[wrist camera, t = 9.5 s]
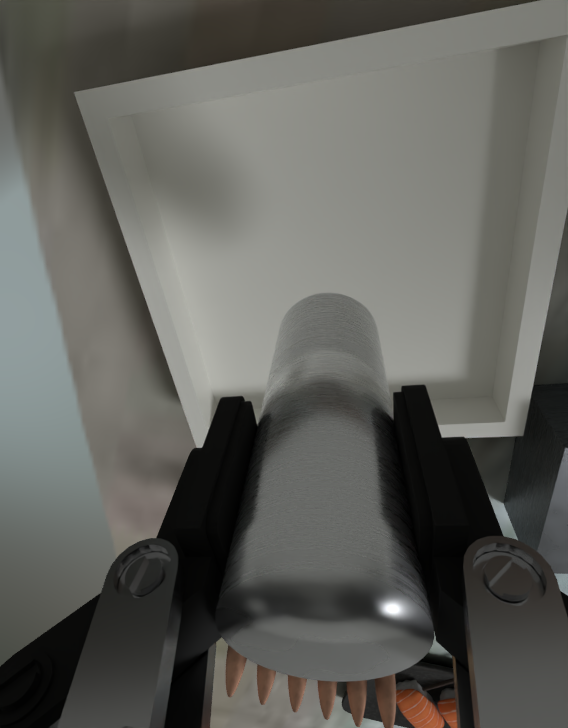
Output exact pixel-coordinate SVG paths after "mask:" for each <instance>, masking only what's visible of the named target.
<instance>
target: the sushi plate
mask: <svg viewBox="0 0 568 728" xmlns="http://www.w3.org/2000/svg"><path fill="white" fill-rule="evenodd" d="M395 682H396V712H395V721H394V725H398V726H402V727H407V728H457V715H456V701H455V687H454V673H453V668H449V667H444V666H440V665H435V664H430V663H426V662H421V661H419V662H417V663H416V664H414V665H413V666H411V667H409V668H407V669H405V670H403V671H401V672H398V673H395ZM342 707H343V709H344V710H345V711H347V712H348V713H351V709H350V704H349V699H348V692H347V691H346V693H345V695H344V697H343V699H342ZM351 714H352V713H351ZM363 718H367V719H371V720H376V721H380V722H382V719H381V715H380V711H379V707H378V702H377V696H376V689H375V679H370V680H367V694H366V704H365V710H364V716H363Z"/></svg>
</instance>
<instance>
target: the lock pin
mask: <svg viewBox="0 0 568 728" xmlns="http://www.w3.org/2000/svg"><path fill="white" fill-rule="evenodd" d="M215 622H216V626H217V629H218V631H219V633H220V635H221V636H222V638H223V639H224V640H225V641H226V643H227V644H228V645H229V646H230V647H232V648H233V649H234V650H235V651H236V652H238V653H239V654H240V655H242V656H244V657H245V658H247V659H249V660H250V661H252V662H254V663H256V664H258V665H260V666H263V667H265V668H268V669H270V670H273V671H277V672H280V673H283V674H287V675H291V676H295V677H300V678H305V679H312V680H320V681H338V682H346V681H362V680H370V679H376V678H381V677H385V676H389V675H392V674H395V673H398V672H401V671H403V670H405V669H407V668H409V667H411V666H413V665H414V664H416V663H417V662H419V661H420V660H421V659H422V658H423V657H424V656H425V655H426V654H427V653H428V652H429V650H430V648H431V646H432V644H433V640H434V628H433V622H432V617H431V612H430V606H429V601H428V596H427V590H426V585H425V580H424V574H423V570H422V567H421V564H420V562H419V557H418V552H417V546H416V541H415V535H414V530H413V524H412V519H411V513H410V508H409V502H408V497H407V491H406V486H405V480H404V475H403V469H402V464H401V458H400V453H399V447H398V442H397V436H396V431H395V426H394V420H393V408H392V403H391V398H390V392H389V387H388V382H387V376H386V371H385V366H384V360H383V355H382V350H381V344H380V339H379V334H378V328H377V325H376V322H375V320H374V317H373V316H372V314H371V313H370V311H369V310H368V309H367V308H366V307H365V306H364V305H363V304H361V303H360V302H358V301H357V300H355V299H353V298H351V297H349V296H346V295H343V294H338V293H320V294H315V295H311V296H308V297H306V298H304V299H302V300H300V301H299V302H297V303H296V304H295V305H293V306H292V307H291V308H290V309H289V310H288V312H287V313H286V314H285V316H284V318H283V320H282V322H281V325H280V329H279V333H278V337H277V342H276V346H275V351H274V355H273V360H272V364H271V369H270V373H269V377H268V382H267V386H266V391H265V395H264V400H263V404H262V408H261V413H260V417H259V422H258V426H257V431H256V435H255V440H254V444H253V448H252V453H251V457H250V462H249V466H248V471H247V475H246V480H245V484H244V488H243V493H242V497H241V502H240V506H239V511H238V515H237V519H236V524H235V528H234V533H233V537H232V542H231V546H230V551H229V555H228V559H227V564H226V568H225V573H224V577H223V582H222V586H221V591H220V595H219V599H218V604H217V608H216V614H215Z"/></svg>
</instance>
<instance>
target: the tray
mask: <svg viewBox="0 0 568 728" xmlns="http://www.w3.org/2000/svg"><path fill="white" fill-rule="evenodd" d="M74 95H75V97H76V100H77V103H78V106H79V109H80V112H81V115H82V118H83V121H84V123H85V126H86V129H87V132H88V135H89V138H90V141H91V144H92V147H93V149H94V152H95V155H96V158H97V161H98V164H99V167H100V170H101V173H102V175H103V178H104V181H105V184H106V187H107V190H108V193H109V196H110V199H111V201H112V204H113V207H114V210H115V213H116V216H117V219H118V222H119V225H120V227H121V230H122V233H123V236H124V239H125V242H126V245H127V248H128V251H129V253H130V256H131V259H132V262H133V265H134V268H135V271H136V274H137V277H138V279H139V282H140V285H141V288H142V291H143V294H144V297H145V300H146V303H147V305H148V308H149V311H150V314H151V317H152V320H153V323H154V326H155V329H156V331H157V334H158V337H159V340H160V343H161V346H162V349H163V352H164V355H165V357H166V360H167V363H168V366H169V369H170V372H171V375H172V378H173V380H174V383H175V386H176V389H177V392H178V395H179V398H180V401H181V404H182V406H183V409H184V412H185V415H186V418H187V421H188V424H189V427H190V430H191V432H192V435H193V438H194V441H195V444H196V447H197V448H202V447H203V444H204V441H205V439H206V436H207V433H208V430H209V428H210V425H211V422H212V420H213V417H214V414H215V411H216V409H217V406H218V403H219V400H220V399H221V398H222V397H232V396H243V397H244V399H245V401H251V402H252V405H253V409H254V414H255V418H256V422H257V426H258V422H259V417H260V413H261V408H262V404H263V400H264V395H265V391H266V386H267V382H268V377H269V373H270V369H271V364H272V360H273V355H274V351H275V346H276V342H277V337H278V333H279V329H280V325H281V322H282V320H283V318H284V316H285V314H286V313H287V312H288V310H289V309H290V308H291V307H292V306H293V305H295V304H296V303H297V302H299V301H300V300H302V299H304V298H306V297H308V296H311V295H315V294H320V293H338V294H343V295H346V296H349V297H351V298H353V299H355V300H357V301H358V302H360V303H361V304H363V305H364V306H365V307H366V308H367V309H368V310H369V311H370V313H371V314H372V316H373V317H374V320H375V322H376V325H377V328H378V334H379V339H380V344H381V350H382V355H383V360H384V366H385V371H386V376H387V382H388V387H389V392H390V398H391V403H392V408H393V392H401V387H402V386H407V385H423V384H424V385H425V386H426V388H427V391H428V395H429V398H430V401H431V404H432V407H433V411H434V414H435V417H436V420H437V423H438V427H439V430H440V433H441V436H442V437H465V438H481V437H509V436H523V435H524V429H525V424H526V419H527V414H528V409H529V404H530V399H531V394H532V389H533V383H534V378H535V373H536V368H537V363H538V358H539V353H540V348H541V342H542V337H543V332H544V327H545V322H546V317H547V312H548V307H549V301H550V296H551V291H552V286H553V281H554V276H555V271H556V266H557V261H558V255H559V250H560V245H561V240H562V235H563V230H564V225H565V220H566V214H567V209H568V0H540V1H535V2H530V3H524V4H519V5H514V6H509V7H504V8H499V9H494V10H489V11H484V12H479V13H474V14H469V15H463V16H458V17H453V18H448V19H443V20H438V21H433V22H428V23H423V24H418V25H413V26H408V27H402V28H397V29H392V30H387V31H382V32H377V33H372V34H367V35H362V36H357V37H352V38H347V39H341V40H336V41H331V42H326V43H321V44H316V45H311V46H306V47H301V48H296V49H291V50H286V51H280V52H275V53H270V54H265V55H260V56H255V57H250V58H245V59H240V60H235V61H230V62H225V63H219V64H214V65H209V66H204V67H199V68H194V69H189V70H184V71H179V72H174V73H169V74H164V75H158V76H153V77H148V78H143V79H138V80H133V81H128V82H123V83H118V84H113V85H108V86H103V87H97V88H92V89H87V90H82V91H77V92H74Z"/></svg>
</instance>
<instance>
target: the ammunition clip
mask: <svg viewBox="0 0 568 728" xmlns="http://www.w3.org/2000/svg"><path fill="white" fill-rule="evenodd" d="M246 659H247V658H245V657H244V656H242V655H240V654H239V653H238V652H236V651H235V650H234V649H233V648H232V647H230V646H229V645H228V651H227V660H226V690H227V695H228V697H232V695H233V694H234V692H235V691H236V689H237V687H238V684H239V682H240V679H241V676H242V674H243V670H244V667H245V663H246ZM275 674H276V671H273V670H270V669H268V668H265V667H263V666H260V665H258V666H257V685H258V695H259V700H260V703H261V705H264V704H265V703H266V701H267V699H268V697H269V694H270V692H271V689H272V686H273V682H274V679H275ZM306 681H307V679H305V678H300V677H295V676H291V675H288V687H289V696H290V702H291V706H292V709H293V711H294V712H297V711H298V709H299V707H300V704H301V702H302V698H303V695H304V691H305V686H306ZM346 682H347V692H348V699H349V704H350V709H351V713H352V717H353V720H354V722H355V725H356V726H357V727H360V725H361V722H362V719H363V716H364V710H365V704H366V694H367V680H362V681H346ZM336 689H337V681H320V680H318V692H319V699H320V705H321V709H322V712H323V715H324V718H325V719H326V720H328V719H329V717H330V715H331V712H332V709H333V705H334V700H335V695H336ZM375 689H376V696H377V702H378V707H379V711H380V715H381V719H382V722H383V725H384V727H385V728H393V726H394V721H395V712H396V682H395V674H392V675H389V676H385V677H381V678H376V679H375Z"/></svg>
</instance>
